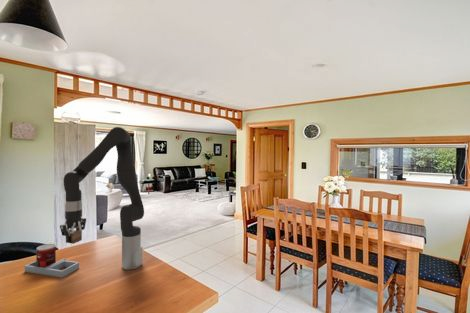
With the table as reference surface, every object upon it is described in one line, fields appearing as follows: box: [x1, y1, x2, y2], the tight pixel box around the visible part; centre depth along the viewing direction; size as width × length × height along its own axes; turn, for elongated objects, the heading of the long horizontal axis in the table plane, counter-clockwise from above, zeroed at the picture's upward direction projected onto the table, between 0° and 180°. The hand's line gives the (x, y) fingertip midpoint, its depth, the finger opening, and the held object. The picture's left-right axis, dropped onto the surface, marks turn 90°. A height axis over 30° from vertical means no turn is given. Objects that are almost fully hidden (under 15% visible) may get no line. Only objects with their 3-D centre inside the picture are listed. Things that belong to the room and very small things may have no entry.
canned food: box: [35, 243, 57, 268], centre depth 127 cm, size 8×8×11 cm
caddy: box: [24, 257, 80, 278], centre depth 125 cm, size 23×12×3 cm, turn 78°
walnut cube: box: [65, 229, 83, 244], centre depth 128 cm, size 5×5×5 cm
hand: (73, 240), depth 128 cm, fingers closed on walnut cube, 5 cm apart
